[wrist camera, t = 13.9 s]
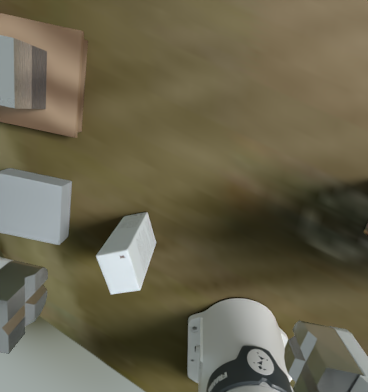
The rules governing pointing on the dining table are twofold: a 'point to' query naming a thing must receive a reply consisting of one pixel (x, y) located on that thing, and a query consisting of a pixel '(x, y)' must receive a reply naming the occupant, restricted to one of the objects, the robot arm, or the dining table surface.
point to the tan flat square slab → (52, 76)
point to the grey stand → (34, 206)
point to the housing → (22, 74)
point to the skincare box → (127, 254)
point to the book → (366, 230)
